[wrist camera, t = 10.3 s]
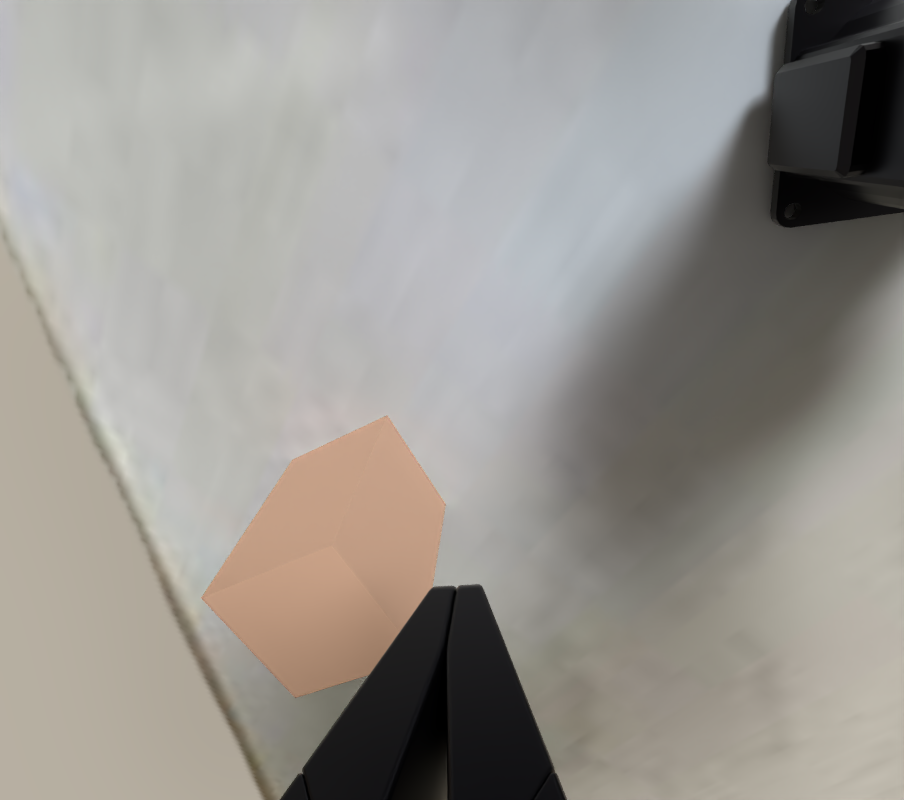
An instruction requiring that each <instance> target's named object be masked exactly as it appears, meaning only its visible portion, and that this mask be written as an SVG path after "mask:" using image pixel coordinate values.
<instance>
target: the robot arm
mask: <svg viewBox="0 0 904 800" xmlns="http://www.w3.org/2000/svg"><path fill="white" fill-rule="evenodd" d="M805 3H806V0H792V1H791V3H790V6H789V10H788V21H787V33H786V44H785V55H784V65H783V66H782V67H781V68H780V70H779V71H778V72H777V73H776V75H775V79H774V91H773V103H772V115H771V127H770V139H769V151H768V164H769V165H770V166H771V167H772V168H773V169H774V179H773V190H772V201H771V219H772V220H773V222H774V223H776V224H777V225H779V226H783V227H789V228H792V227H799V226H806V225H814V224H821V223H828V222H835V221H843V220H850V219H857V218H864V217H872V216H879V215H886V214H893V213H901V212H904V0H817V4H818V5H817V8H816V11H815V12H814V13H813V14H808V13H807V12H806V11H805ZM792 203H794V204H795V208H796V209H795V212H794V214H793V215H792V216H791V217H788V218H786V217H785V215H784V212H785V209H786V207H787V206H788V205H790V204H792ZM302 771H303V774H301V773H300V774H298V775H297V777H296V778H295V779H294V781H293V782H292V784H291V785H290V786H289V788H288V789H287V791H286V792H285V793H284V795H283V796H282V798H281V799H280V800H567V798H566V796H565V793H564V791H563V788H562V786H561V783H560V780H559V778H558V775H557V774H556V773H555V770H554V766H553V764H552V761H551V758H550V756H549V753H548V751H547V748H546V746H545V743H544V741H543V738H542V736H541V733H540V731H539V728H538V726H537V723H536V721H535V718H534V716H533V713H532V710H531V708H530V705H529V703H528V700H527V698H526V695H525V693H524V690H523V688H522V685H521V683H520V680H519V678H518V675H517V673H516V670H515V668H514V665H513V663H512V660H511V657H510V655H509V652H508V650H507V647H506V645H505V642H504V640H503V637H502V635H501V632H500V630H499V627H498V625H497V622H496V620H495V617H494V615H493V612H492V610H491V607H490V604H489V602H488V599H487V597H486V594H485V592H484V589H483V587H482V586H481V585H479V584H475V585H460V586H458V588H457V589H456V587H454V586H438V587H433V588H431V589H430V590H429V591H428V593H427V594H426V596H425V597H424V598H423V600H422V601H421V603H420V604H419V605H418V607H417V608H416V610H415V611H414V612H413V614H412V615H411V617H410V618H409V619H408V621H407V622H406V624H405V625H404V626H403V628H402V629H401V631H400V632H399V634H398V635H397V636H396V638H395V639H394V641H393V642H392V643H391V645H390V646H389V648H388V649H387V650H386V652H385V653H384V655H383V656H382V657H381V659H380V660H379V662H378V663H377V664H376V666H375V667H374V669H373V670H372V671H371V673H370V674H369V676H368V677H367V679H366V680H365V681H364V683H363V684H362V686H361V687H360V688H359V690H358V691H357V693H356V694H355V695H354V697H353V698H352V700H351V701H350V702H349V704H348V705H347V707H346V708H345V709H344V711H343V712H342V714H341V715H340V717H339V718H338V719H337V721H336V722H335V724H334V725H333V726H332V728H331V729H330V731H329V732H328V733H327V735H326V736H325V738H324V739H323V740H322V742H321V743H320V745H319V746H318V747H317V749H316V750H315V752H314V753H313V754H312V756H311V757H310V759H309V760H308V762H307V763H306V764H305V766H304V767H303V769H302Z"/></svg>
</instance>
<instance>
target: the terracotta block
mask: <svg viewBox="0 0 904 800" xmlns="http://www.w3.org/2000/svg"><path fill="white" fill-rule="evenodd" d="M445 506H446V504H445V502H444V501H443V499H442V498H441V496H440V495H439V493H438V492H437V490H436V489H435V487H434V486H433V484H432V483H431V481H430V480H429V478H428V477H427V475H426V474H425V472H424V470H423V469H422V467H421V466H420V464H419V463H418V461H417V460H416V458H415V457H414V455H413V454H412V452H411V451H410V449H409V448H408V446H407V445H406V443H405V442H404V440H403V439H402V437H401V435H400V434H399V432H398V431H397V429H396V428H395V426H394V425H393V423H392V422H391V420H390V419H389V417H388V416H385V417H383V418H380V419H378V420H376V421H374V422H372V423H370V424H368V425H366V426H363V427H361V428H359V429H357V430H355V431H353V432H351V433H349V434H346V435H344V436H342V437H340V438H338V439H336V440H334V441H332V442H329V443H327V444H325V445H323V446H321V447H319V448H317V449H315V450H312V451H310V452H308V453H306V454H304V455H302V456H300V457H298V458H295V459H293V460H292V461H291V463H290V464H289V466H288V467H287V469H286V470H285V472H284V473H283V475H282V476H281V478H280V479H279V481H278V482H277V484H276V485H275V487H274V488H273V490H272V491H271V493H270V494H269V496H268V497H267V499H266V501H265V502H264V504H263V505H262V507H261V508H260V510H259V511H258V513H257V514H256V516H255V517H254V519H253V520H252V522H251V523H250V525H249V526H248V528H247V529H246V531H245V532H244V534H243V535H242V537H241V538H240V540H239V541H238V543H237V544H236V546H235V547H234V549H233V551H232V552H231V554H230V555H229V557H228V558H227V560H226V561H225V563H224V564H223V566H222V567H221V569H220V570H219V572H218V573H217V575H216V576H215V578H214V579H213V581H212V582H211V584H210V585H209V587H208V588H207V590H206V591H205V593H204V594H203V596H202V597H201V599H202V600H203V601H204V602H205V603H206V604H207V605H208V606H209V607H210V608H211V609H212V610H213V611H214V612H215V613H216V614H217V616H218V617H219V618H220V619H221V620H222V621H223V622H224V623H225V624H226V625H227V626H228V627H229V628H230V629H231V630H232V631H233V632H234V634H235V635H236V636H237V637H238V638H239V639H240V640H241V641H242V642H243V643H244V644H245V645H246V646H247V647H248V648H249V649H250V651H251V652H252V653H253V654H254V655H255V656H256V657H257V658H258V659H259V660H260V661H261V662H262V663H263V664H264V665H265V666H266V667H267V669H268V670H269V671H270V672H271V673H272V674H273V675H274V676H275V677H276V678H277V679H278V680H279V681H280V682H281V683H282V684H283V685H284V687H285V688H286V689H287V690H288V691H289V692H290V693H291V694H292V695H293V696H294V697H295V698H297V697H300V696H303V695H306V694H310V693H313V692H316V691H319V690H322V689H326V688H329V687H332V686H335V685H338V684H342V683H345V682H348V681H351V680H354V679H357V678H361V677H364V676H367V675H369V674H370V673H371V671H372V670H373V669H374V667H375V666H376V664H377V663H378V662H379V660H380V659H381V657H382V656H383V655H384V653H385V652H386V650H387V649H388V648H389V646H390V645H391V643H392V642H393V641H394V639H395V638H396V636H397V635H398V634H399V632H400V631H401V629H402V628H403V626H404V625H405V624H406V622H407V621H408V619H409V618H410V617H411V615H412V614H413V612H414V611H415V610H416V608H417V607H418V605H419V604H420V603H421V601H422V600H423V598H424V597H425V596H426V594H427V593H428V591H429V590H430V589H431V588H432V587H433V581H434V574H435V568H436V562H437V556H438V549H439V543H440V537H441V531H442V525H443V518H444V512H445Z"/></svg>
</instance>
